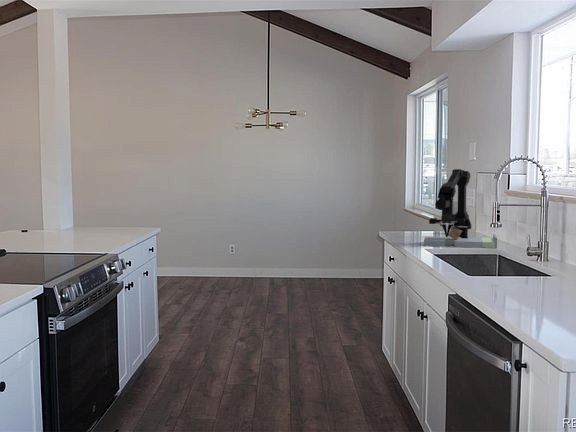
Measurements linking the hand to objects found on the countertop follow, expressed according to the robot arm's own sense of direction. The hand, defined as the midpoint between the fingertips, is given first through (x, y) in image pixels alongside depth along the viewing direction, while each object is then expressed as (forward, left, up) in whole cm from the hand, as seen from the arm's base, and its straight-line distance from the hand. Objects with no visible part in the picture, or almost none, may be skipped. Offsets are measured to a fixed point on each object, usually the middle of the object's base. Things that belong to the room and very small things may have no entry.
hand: (446, 237), depth 298 cm
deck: (0, +6, -4) cm, 7 cm away
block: (+1, +3, 0) cm, 3 cm away
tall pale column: (-42, +6, -4) cm, 43 cm away
